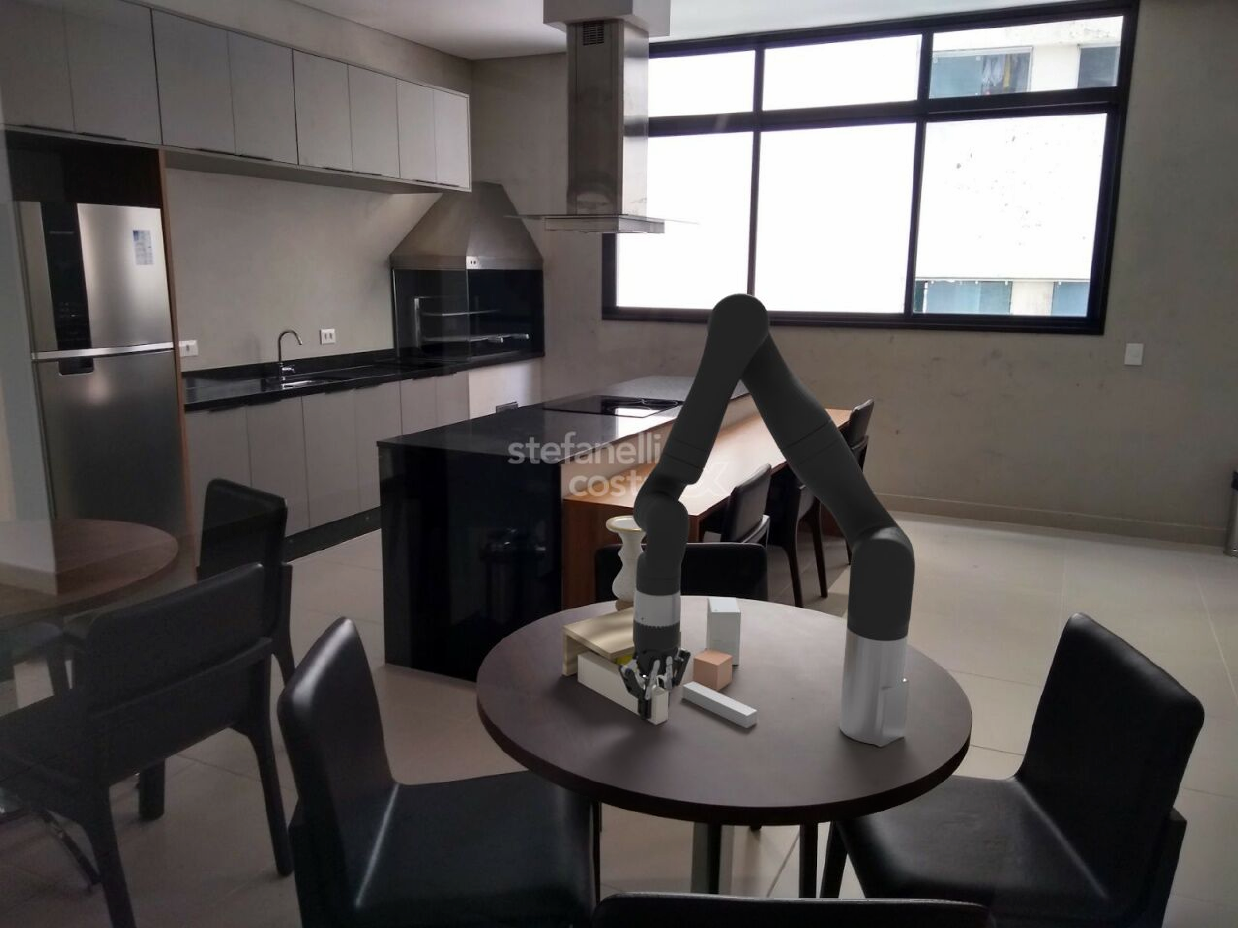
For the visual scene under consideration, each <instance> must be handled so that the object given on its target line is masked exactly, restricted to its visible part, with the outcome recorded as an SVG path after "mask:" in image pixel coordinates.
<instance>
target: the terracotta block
mask: <svg viewBox="0 0 1238 928" xmlns="http://www.w3.org/2000/svg"><path fill="white" fill-rule="evenodd" d="M732 662H733V656H731V655H728V654H725V653H722V652H718V651H715V650H712V649H707V648H706V649H705V650H704V651H702V652H701V653H699V654H697V655H696V656H694V657H693V664H692V665H693V668H692V669H693V670H692V671H693V672H692V681H694V682H696V683H698V684H700V685H702V686H705V687H707V688H709V689H711V690H713V691H716V692H719V691H720V690H721V689H723V688H725V687H726V686H727V685H729V684H730V683H732V681H733V680H732V679H733V678H732V677H733V665H732Z"/></svg>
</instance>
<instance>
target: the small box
mask: <svg viewBox="0 0 1238 928" xmlns="http://www.w3.org/2000/svg"><path fill="white" fill-rule="evenodd" d="M706 606H707V609H706V610H707V613H706V637H705V638H706V640H705V642H706V643H705V647H706V648H705V649H706V650H707V649H712V650H715V651H718V652H722V653H725V654H728V655H731V656H733V662H732V666H733V665H734V666H738V665H739V664H740V647H741V645H740V644H741V622H742V621H741V620H742V619H741V618H742V612H741V608H740V606H739V602H738V600H737V597H724V596H723V597H718V596H717V597H715V596H711V597H710V596H709V597H707V605H706Z"/></svg>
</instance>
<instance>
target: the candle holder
mask: <svg viewBox="0 0 1238 928" xmlns="http://www.w3.org/2000/svg"><path fill="white" fill-rule="evenodd" d="M605 526H606V528H607V529H608V530H609V531H610V532H613V533H617V534H618V536H619V538H621V540H622V546H621V548H620V550H619V551H618V553H617V554H618V556H619V557H620V560H621V562H622V567H621V569H620V571H619V572H618V574H617V576H616V577H615V578H614V580H613V582H612V592H613V594H614V595H615V596H616V597H617V598H618V599H617V600H616V601H615V603H614V606H615V607H614V608H615V610H616V611H620V610H624V609H628V608H631V607H632V608H634V597H635V591H636V567H637V560H638V557H639V555H640V554H641V553H642V552H644V551H645V550H643V548H642V546H641V544H642V540H643V538H644V537H646V535H647V534H646V532H644V531H643V530H642V529H640V528H639V527H638V526H637V524H636V523H635V521H634V518H633V515H620V516H615V517H611V518H609V519H608V520H607V521H606V522H605ZM616 611H614V612H616Z"/></svg>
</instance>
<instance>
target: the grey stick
mask: <svg viewBox="0 0 1238 928" xmlns="http://www.w3.org/2000/svg"><path fill="white" fill-rule="evenodd" d="M681 694H682V698H683V699H685V700H687V701H689V702H692V703H694V704H696V705H698V706H699V707H702V708H704V709H706V710H707V711H710V712H712V713H714V714H716V715H718V716H719V717H722V718H725V719H726V720H729V721H731V722H733V723H735V724H737V725H739V726H741V727H744V728H745V729H748V728H750V727H751V726H753V725H756V724H757V723H758V709H754V708H752V707H750V706H749V705H746V704H744V703H742V702H739V701H738V700H735V699H733V698H731V697H728V696H726V695H724V694H722V693H720V692H719V691H717V692H716V691H713V690H711V689H709V688H707V687H705V686H702V685H700V684H698V683H696V682H694V681H693V680H692V681H691V682H687V683H685V684H684V685H682V693H681Z"/></svg>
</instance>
